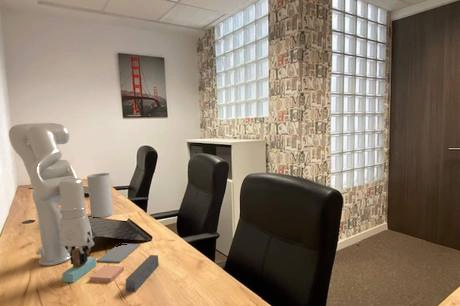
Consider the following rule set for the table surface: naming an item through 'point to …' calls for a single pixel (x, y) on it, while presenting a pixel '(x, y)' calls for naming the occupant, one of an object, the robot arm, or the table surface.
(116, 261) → the mat
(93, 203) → the cylinder vase
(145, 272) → the bar
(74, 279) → the push block
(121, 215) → the table surface
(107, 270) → the terracotta tile
